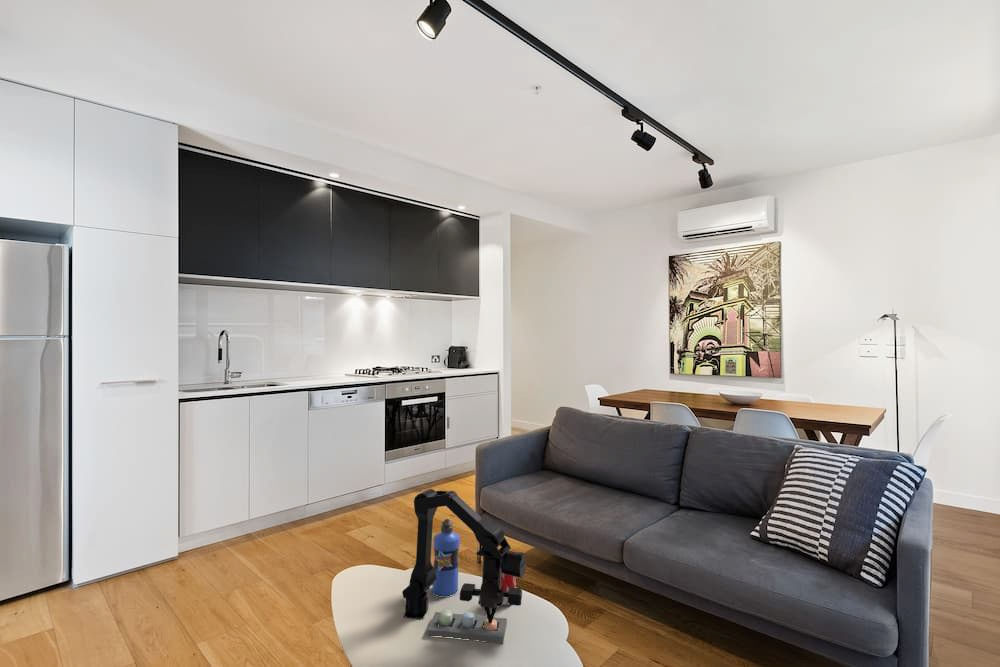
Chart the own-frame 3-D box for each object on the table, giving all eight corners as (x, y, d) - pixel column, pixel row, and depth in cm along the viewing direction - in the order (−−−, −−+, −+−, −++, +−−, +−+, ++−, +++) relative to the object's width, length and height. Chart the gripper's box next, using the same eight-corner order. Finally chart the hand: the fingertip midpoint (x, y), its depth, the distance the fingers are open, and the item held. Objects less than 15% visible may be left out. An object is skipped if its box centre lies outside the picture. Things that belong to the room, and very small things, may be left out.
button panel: (427, 636, 146) (427, 629, 146) (435, 618, 156) (435, 612, 156) (503, 643, 143) (503, 636, 143) (506, 624, 153) (506, 618, 153)
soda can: (513, 608, 163) (514, 572, 163) (492, 605, 164) (493, 569, 165) (516, 597, 170) (517, 563, 170) (497, 595, 171) (497, 560, 172)
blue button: (460, 628, 148) (460, 618, 148) (462, 621, 152) (463, 611, 152) (473, 629, 147) (473, 619, 147) (475, 622, 151) (475, 612, 151)
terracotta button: (482, 635, 147) (483, 625, 147) (484, 628, 151) (485, 618, 151) (496, 636, 146) (496, 626, 146) (497, 629, 150) (497, 619, 150)
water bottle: (435, 583, 179) (437, 514, 180) (460, 585, 178) (462, 516, 178) (428, 596, 170) (430, 523, 171) (454, 598, 168) (456, 525, 169)
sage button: (437, 626, 148) (438, 616, 149) (440, 619, 152) (441, 609, 152) (450, 627, 148) (450, 617, 148) (453, 620, 152) (453, 610, 152)
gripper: (456, 580, 142) (455, 634, 142) (520, 585, 140) (518, 640, 140) (463, 564, 153) (462, 614, 153) (522, 568, 151) (521, 619, 151)
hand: (490, 622), depth 149 cm, fingers closed, pressing on terracotta button
